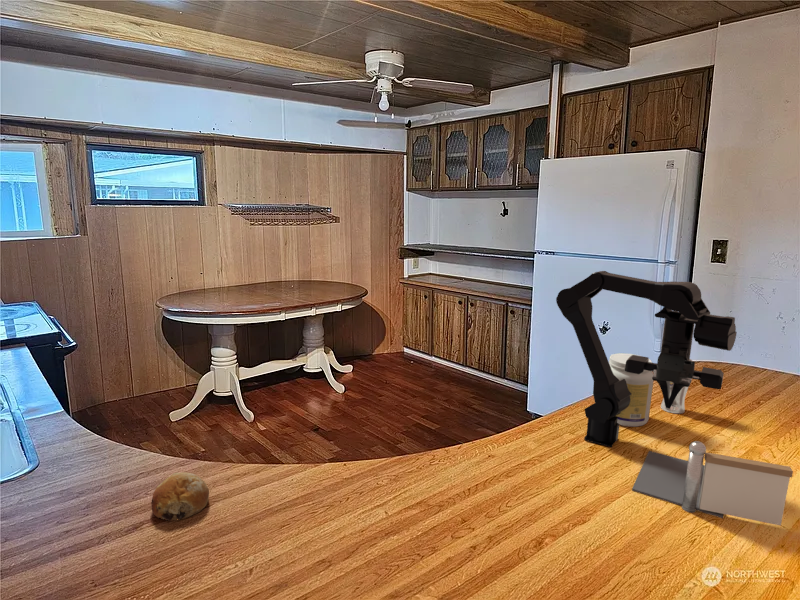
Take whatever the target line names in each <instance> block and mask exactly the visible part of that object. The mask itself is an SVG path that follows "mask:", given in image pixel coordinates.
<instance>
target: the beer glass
mask: <svg viewBox="0 0 800 600" xmlns="http://www.w3.org/2000/svg"><path fill="white" fill-rule="evenodd" d="M689 361H693V360H692V359H691V358H690V360H689ZM673 385H674V383H673V382H670V396H671V392H672V389H673ZM688 390H689V387H683V388H682V389H681V390H680V392H679V393H678V394H677V396H676V398H675V400H674V402H673V404H672V405H671V407H670V409H669V408H666V406H665V402H664V398H662V401H661V404H660V408H661V409H662V411H665V412H667V413H669V414H670V413H671V414H678V415H679V414H684V413H685V412H686V411H685V410H686V409H685V408H686V406H685V400H686V395H687V392H688Z"/></svg>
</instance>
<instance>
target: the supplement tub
mask: <svg viewBox="0 0 800 600" xmlns="http://www.w3.org/2000/svg"><path fill="white" fill-rule="evenodd" d="M632 355H635V353H634V354H633V353H624V352H623V353H622V352H620V353H612V354H610V357H609V359H608V362H609V364H610V367H611V370H612V372H613V374H614V375H615V376H616V377H617V378H618V379H619V380H622V379H625V380H626V383H627V387H628V390H629V391H630V392H631V395H630V404H629V406H628V407H627V408H626V409H625V410H623V411H621V413H620V414H618V415H616V416H617V417H618V420H617V423H619V424H620V425H619V426H624V427H632V428H633V427H635V428H636V427H641V426H644V425H645V424H647V423H648V422H649V419H650V412H651V405H652V404H651V403H652V397H653V388H654V380H652V377H653V375H654V373H653V371H648V370H644V371H643V372H642V373H640V374H635V373H630V372H626V371H625V364H626V361H627V360H628V358H629V357H630V356H632ZM636 355H637V356H640V354H639V355H638V354H636ZM649 362H651V363H653V362H652V360H651V359H650V358H649Z"/></svg>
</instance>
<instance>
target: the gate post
mask: <svg viewBox="0 0 800 600" xmlns="http://www.w3.org/2000/svg"><path fill="white" fill-rule="evenodd" d="M688 451H689V453H688V459H687V461H688V466H687V473H686V480H685V487H684V494H683V501H682V506H681V509H682V510H683V511H685V512H687V513H692V514H693V513H696V511H697V510H696V506H697V499H698V493H699V486H700V479H701V473H702V466H703V465H704V460H705V459H704V456H705V453H706V452H707V448H706V446H705V444H704V443H703V442H702V441H699V440H695V441H692V442H691V443H689V446H688Z"/></svg>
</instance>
